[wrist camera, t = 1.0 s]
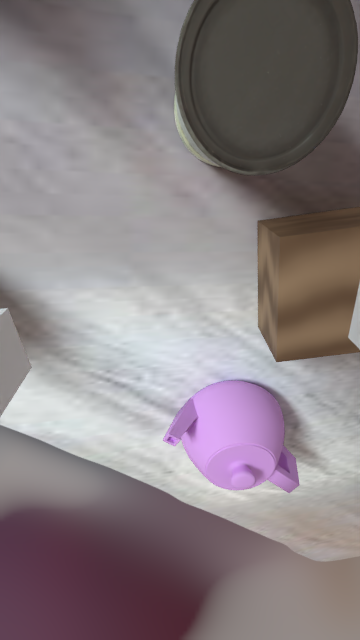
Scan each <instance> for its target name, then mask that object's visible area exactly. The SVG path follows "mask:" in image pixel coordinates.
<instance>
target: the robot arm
mask: <svg viewBox="0 0 360 640" xmlns="http://www.w3.org/2000/svg"><path fill="white" fill-rule="evenodd" d="M348 338H349V339H350V340H351V341H352V342H353V343H354V344H355V345H356V346H357V347H358V348H359V349H360V283H359V288H358V292H357V297H356V302H355V307H354V312H353V316H352V321H351V326H350V331H349V336H348ZM30 369H31V364H30V362H29V359H28V357H27V354H26V352H25V349H24V347H23V344H22V342H21V339H20V337H19V334H18V332H17V329H16V327H15V324H14V322H13V319H12V317H11V315H10V312H9V310H8V308H3V309H0V417H1V415H2V413H3V412H4V410H5V409H6V407H7V405H8V404H9V402H10V401H11V399H12V398H13V396H14V394H15V393H16V391H17V390H18V388H19V386H20V385H21V383H22V382H23V380H24V379H25V377H26V375H27V374H28V372H29V371H30Z"/></svg>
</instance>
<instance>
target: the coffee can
mask: <svg viewBox="0 0 360 640" xmlns="http://www.w3.org/2000/svg"><path fill="white" fill-rule="evenodd" d="M357 53H358V33H357V25H356V21H355V16H354V11H353V7H352V5H351V1H350V0H194V2H193V4H192V5H191V7H190V9H189V11H188V14H187V16H186V19H185V21H184V24H183V26H182V29H181V33H180V37H179V42H178V46H177V52H176V61H175V90H176V92H175V98H174V115H175V121H176V126H177V129H178V132H179V135H180V137H181V139H182V141H183V143H184V145H185V146H186V147H187V149H188V150H189V151H190V152H191V153H192V154H193V155H194V156H195V157H197V158H198V159H199V160H201V161H203V162H205V163H207V164H210V165H213V166H217V167H222V168H225V169H227V170H230V171H232V172H235V173H239V174H243V175H254V176H255V175H265V174H271V173H275V172H278V171H281V170H284V169H286V168H288V167H290V166H292V165H294V164H296V163H297V162H299V161H300V160H302V159H303V158H304V157H306V156H307V155H308V154H310V153H311V152H312V151H313V150H314V149H315V148H316V147H317V146H318V145H319V144H320V143H321V142H322V141H323V140H324V139H325V137H326V136H327V135H328V134H329V132H330V131H331V129H332V128H333V127H334V125H335V123H336V122H337V120H338V118H339V116H340V115H341V113H342V111H343V109H344V106H345V104H346V102H347V99H348V96H349V93H350V90H351V87H352V84H353V79H354V75H355V70H356V64H357Z"/></svg>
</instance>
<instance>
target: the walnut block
mask: <svg viewBox="0 0 360 640" xmlns="http://www.w3.org/2000/svg"><path fill="white" fill-rule="evenodd" d="M359 283H360V207H355V208H347V209H340V210H333V211H325V212H318V213H311V214H304V215H296V216H289V217H282V218H274V219H267V220H260V221H258V327H259V329H260V331H261V333H262V335H263V337H264V339H265V341H266V343H267V345H268V347H269V349H270V351H271V352H272V354H273V356H274V358H275V360H276V362H282V361H290V360H299V359H307V358H315V357H323V356H332V355H340V354H348V353H356V352H360V349H359V348H358V347H357V346H356V345H355V344H354V343H353V342H352V341H351V340H350V339H349V338H348V336H349V331H350V326H351V321H352V316H353V312H354V307H355V302H356V297H357V292H358V288H359Z"/></svg>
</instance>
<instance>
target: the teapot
mask: <svg viewBox="0 0 360 640" xmlns="http://www.w3.org/2000/svg"><path fill="white" fill-rule="evenodd" d="M284 434H285V430H284V420H283V415H282V411H281V408H280V406H279V404H278V402H277V400H276V399H275V398H274V397H273V396H272V395H271V394H270V393H269V392H268V391H266V390H265V389H263V388H262V387H260V386H258V385H255V384H252V383H248V382H244V381H222V382H218V383H214V384H212V385H209V386H207V387H205V388H203V389H202V390H200V391H199V392H197V393H196V394H195V395H194V396H193V397H191V398H190V399H189V400H188V401H187V403H186V404H185V405H184V406H183V407H182V408H181V409H180V411H179V412H178V413H177V415H176V417H175V418H174V420H173V422H172V424H171V426H170V428H169V429H168V431H167V433H166V435H165V437H164V439H163V441H164V442H167V443H169V444H171V445H173V446H175V445H176V444H177V443H178V442H179V441H180V440H182V443H183V446H184V448H185V450H186V452H187V454H188V456H189V458H190V459H191V461H192V462H193V463H194V465H195V466H196V467H197V468H198V470H199V471H200V472H201V473H202V474H203V475H204V476H205V477H206V478H207V479H208V480H209V481H210V482H212V483H213V484H214V485H216V486H218V487H221V488H224V489H229V490H244V489H249V488H252V487H255V486H258V485H260V484H261V483H263V482H264V481H266V480H269V481H270V482H272V483H274V484H275V485H277V486H278V487H280V488H282V489H283V490H285V491H286V492H288V493H290V492H291V491H292V490H294V489H295V488H296V487H298V486H299V478H298V472H297V465H296V458H295V457H294V456H293V455H292V454H291V453H290V452H289V451H288V450H287V449H286V448H285V446H284V445H283V443H284Z"/></svg>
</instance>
